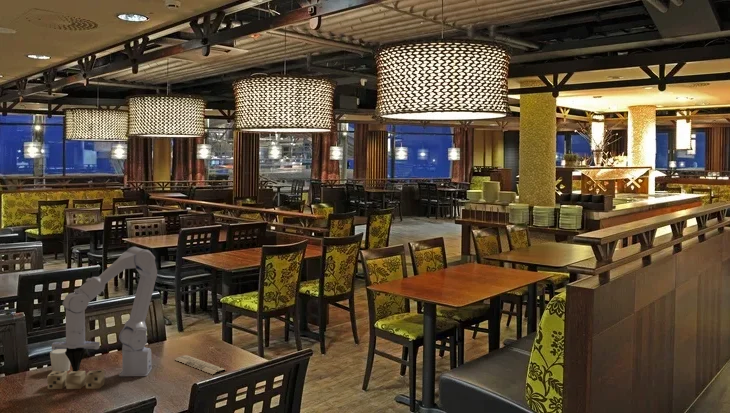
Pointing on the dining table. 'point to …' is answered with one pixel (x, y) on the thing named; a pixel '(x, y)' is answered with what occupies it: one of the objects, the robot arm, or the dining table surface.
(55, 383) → the dotted block three
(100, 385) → the dotted block two
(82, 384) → the plain block
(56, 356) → the cream short cylinder
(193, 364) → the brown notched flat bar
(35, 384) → the dining table surface
